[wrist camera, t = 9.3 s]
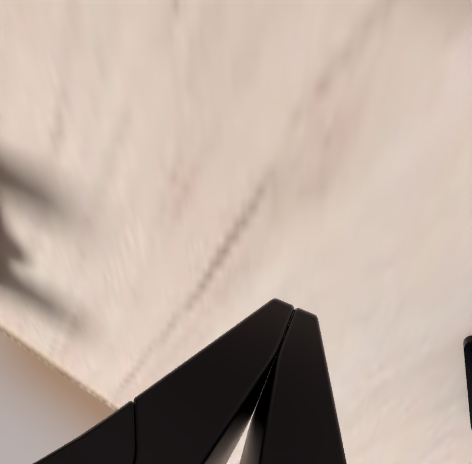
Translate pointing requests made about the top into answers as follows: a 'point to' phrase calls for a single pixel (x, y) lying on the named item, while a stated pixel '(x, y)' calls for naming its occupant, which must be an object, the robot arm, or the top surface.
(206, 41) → the top surface
